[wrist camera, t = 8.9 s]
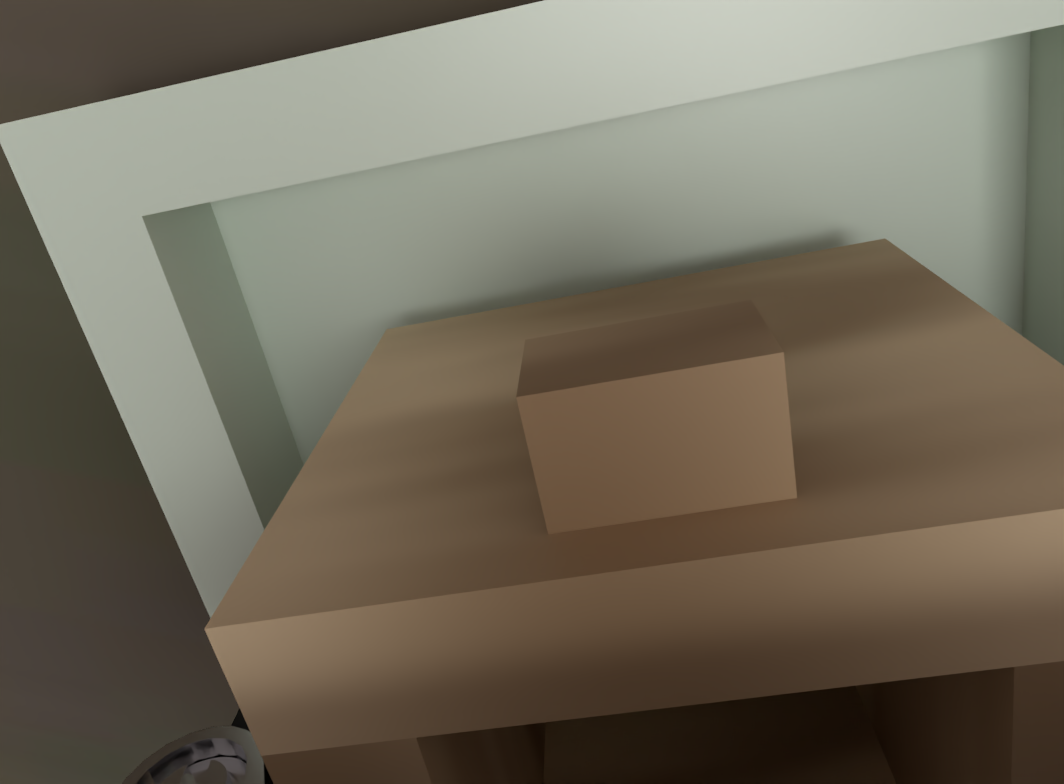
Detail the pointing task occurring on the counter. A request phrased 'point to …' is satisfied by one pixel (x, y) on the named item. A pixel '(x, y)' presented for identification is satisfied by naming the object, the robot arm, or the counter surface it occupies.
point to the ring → (674, 544)
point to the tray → (520, 199)
